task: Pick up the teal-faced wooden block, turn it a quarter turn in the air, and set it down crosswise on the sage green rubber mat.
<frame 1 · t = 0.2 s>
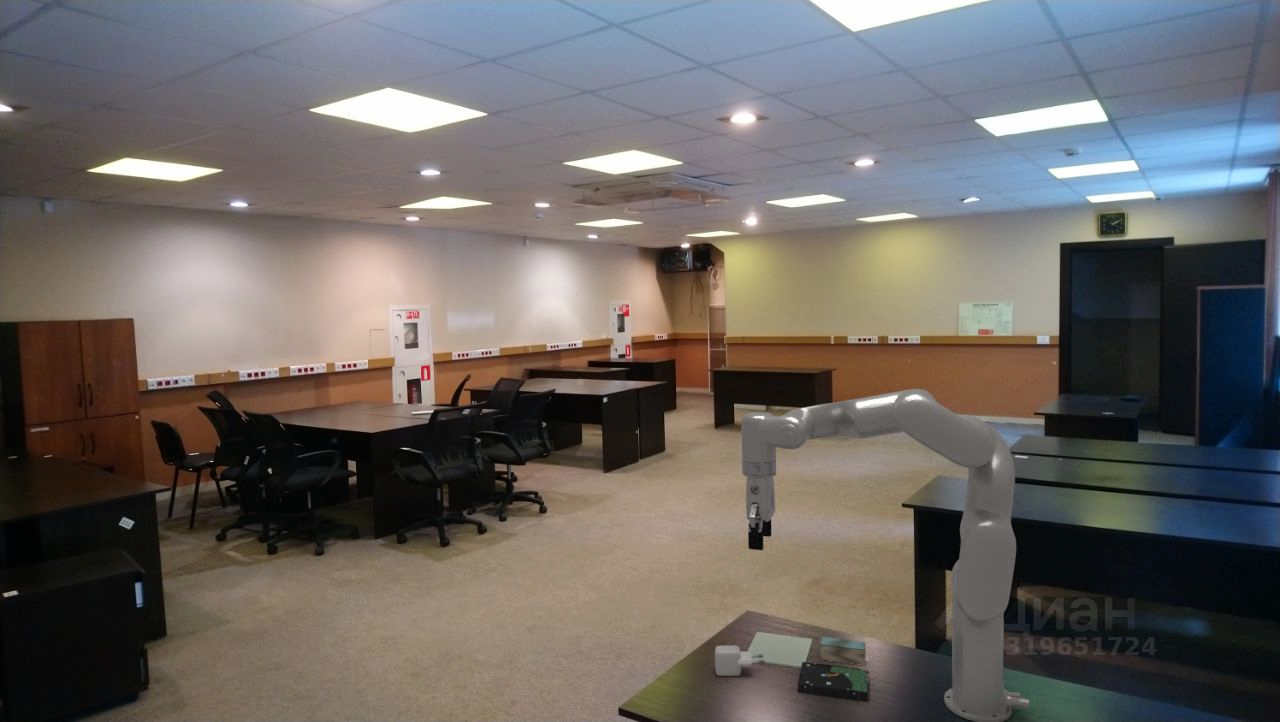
hand: (760, 542, 164), 31 cm above the table, tool pointing down, fingers open, 9 cm apart
teal-faced wooden block: (843, 659, 172), on the table
disk drive: (834, 688, 160), on the table
power adapter: (739, 673, 167), on the table
mat: (779, 650, 177), on the table
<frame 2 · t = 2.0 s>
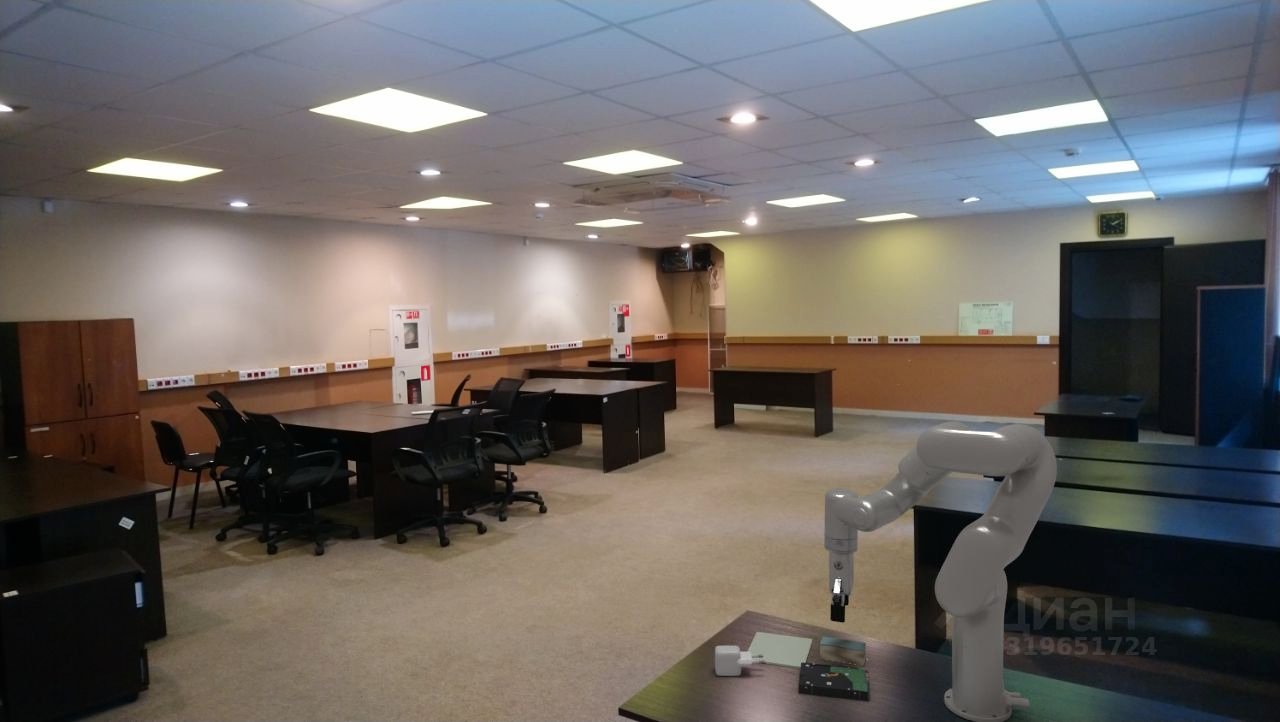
hand: (839, 612, 171), 11 cm above the table, tool pointing down, fingers open, 9 cm apart
nothing on the table moved.
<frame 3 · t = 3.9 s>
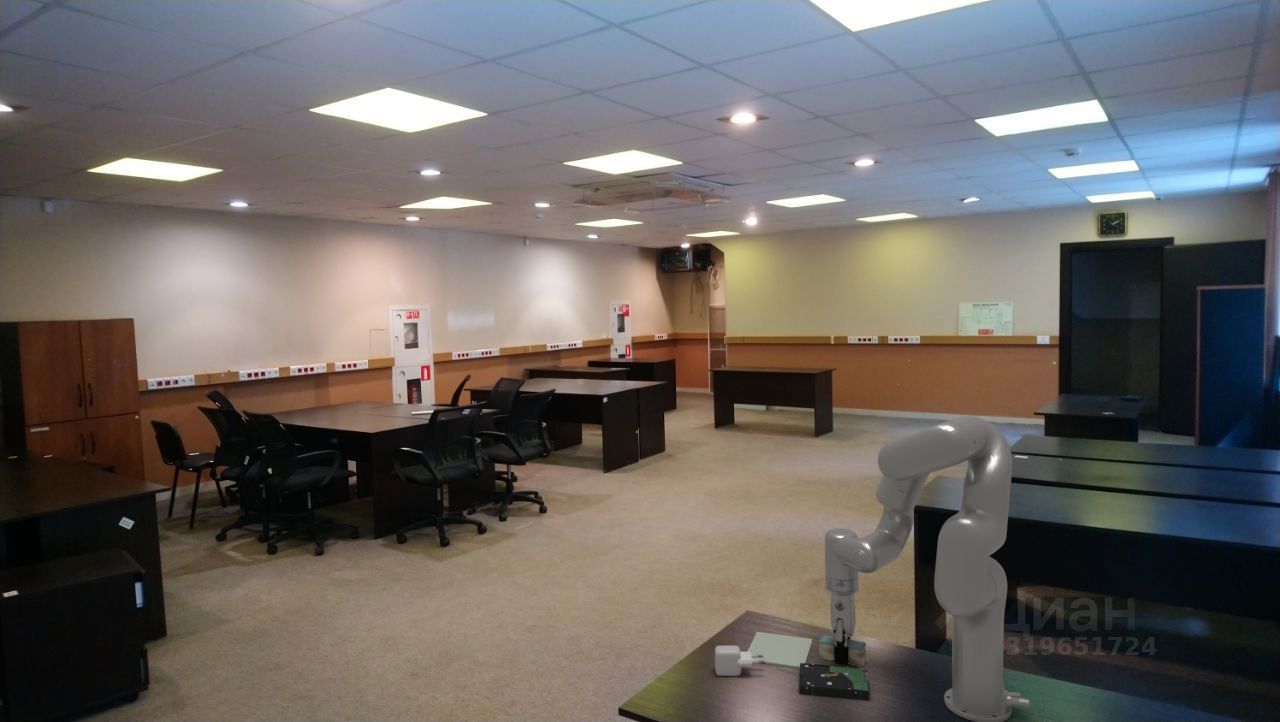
hand: (842, 656, 172), 0 cm above the table, tool pointing down, fingers closed on teal-faced wooden block, 4 cm apart
teal-faced wooden block: (842, 658, 172), on the table, touching gripper
everything else where it was.
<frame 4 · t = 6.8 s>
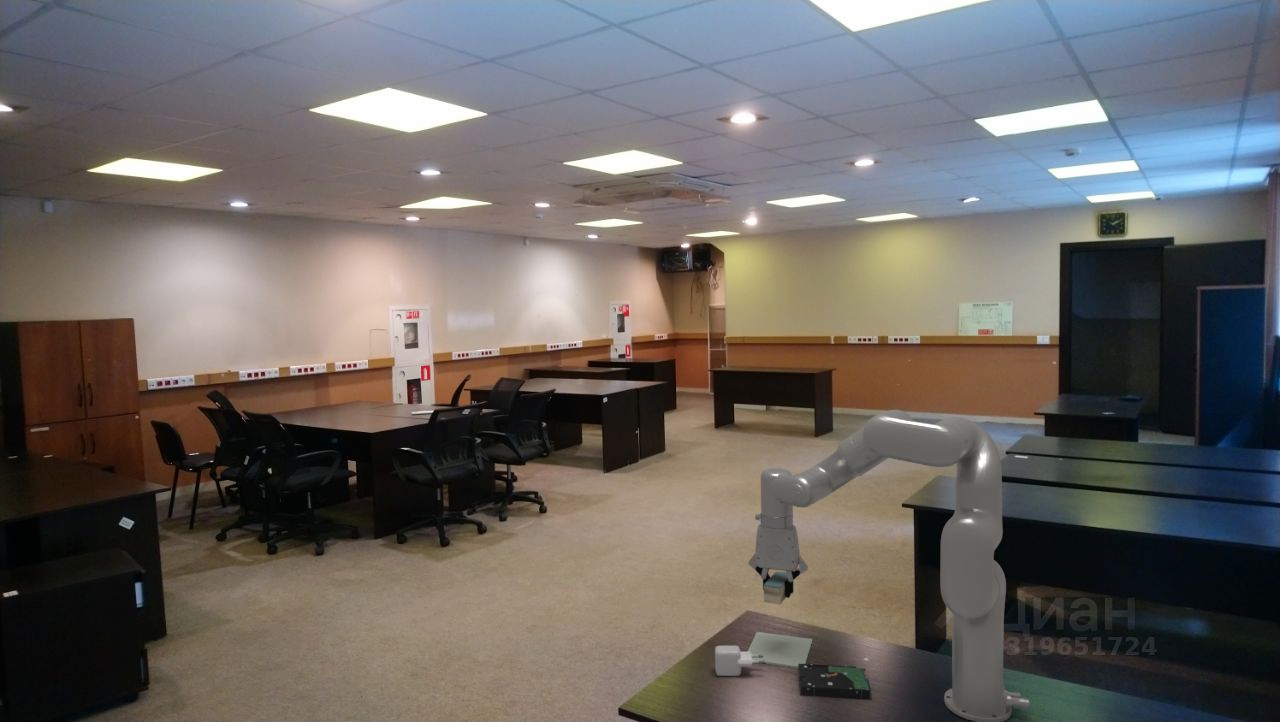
hand: (778, 593, 176), 14 cm above the table, tool pointing down, fingers closed on teal-faced wooden block, 4 cm apart
teal-faced wooden block: (778, 595, 176), point 14 cm above the table, touching gripper
everything else where it was.
when the fingers open (2 cm above the table, at t = 9.6 s): teal-faced wooden block drops 1 cm, resting on mat.
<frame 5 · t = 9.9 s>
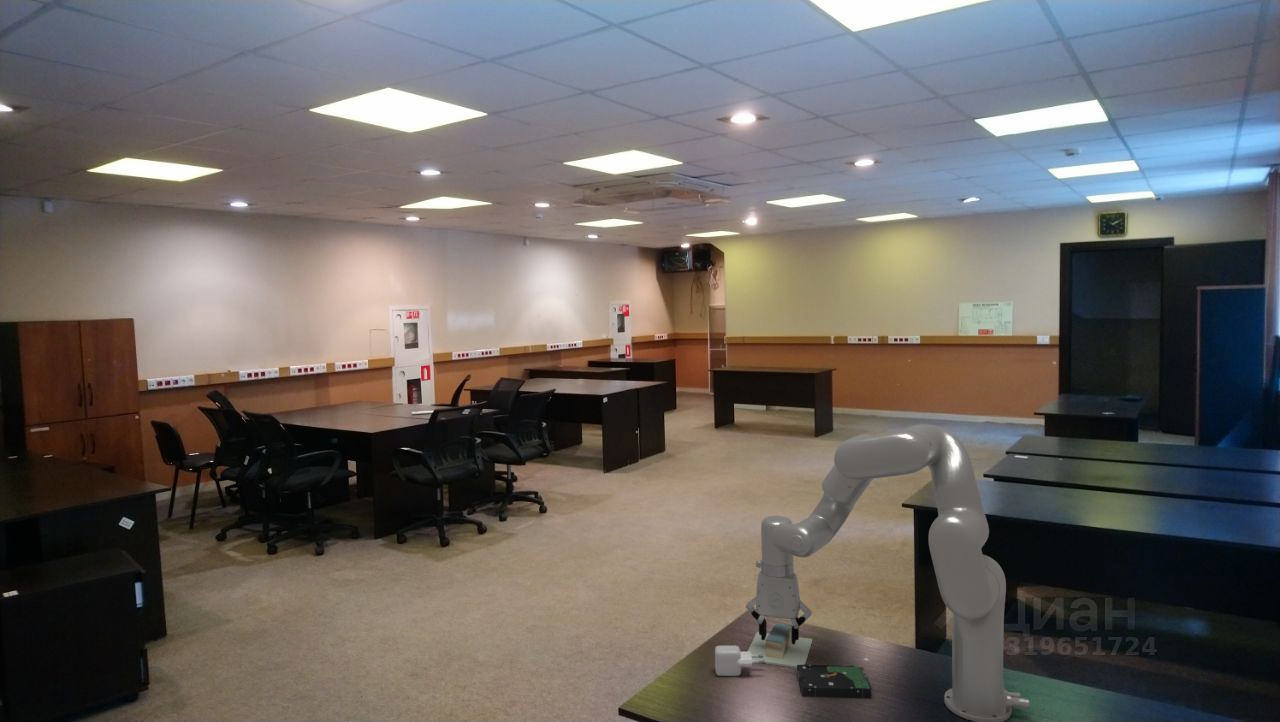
hand: (778, 639, 176), 3 cm above the table, tool pointing down, fingers open, 6 cm apart
teal-faced wooden block: (779, 648, 176), point 1 cm above the table, touching mat
everything else where it was.
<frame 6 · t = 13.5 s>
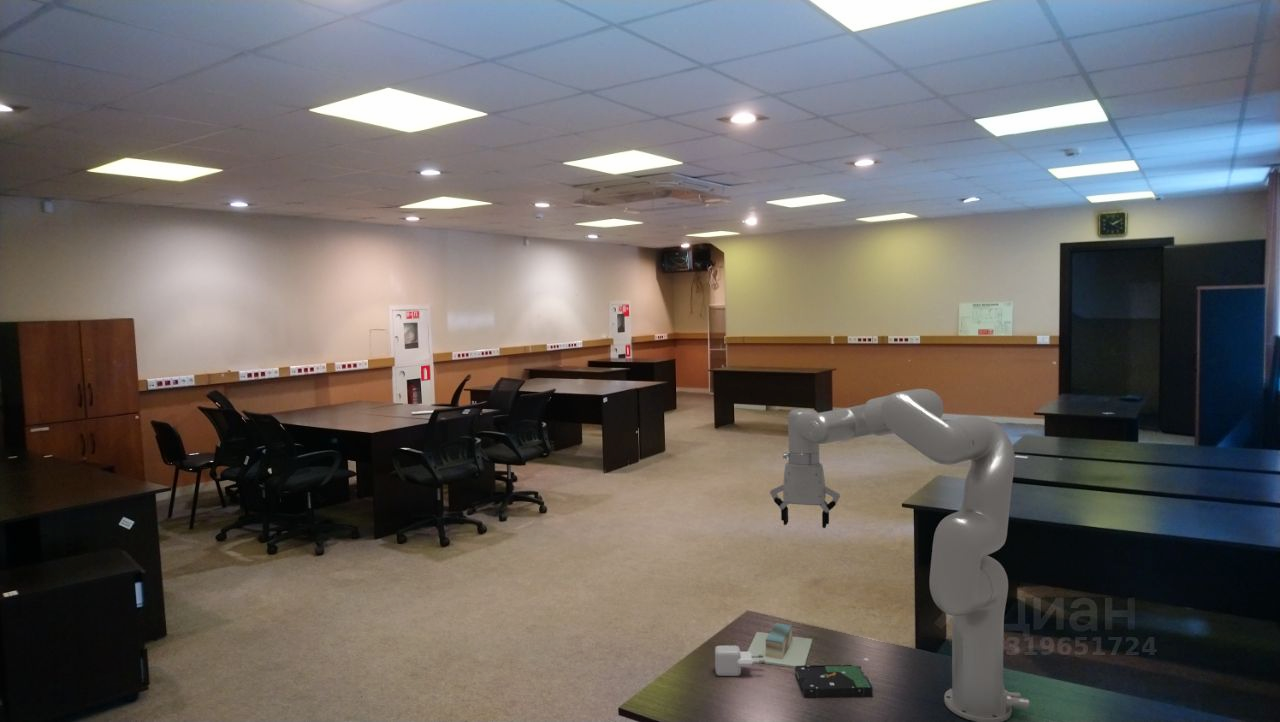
hand: (805, 525, 184), 28 cm above the table, tool pointing down, fingers open, 9 cm apart
at the end: teal-faced wooden block inside the target area on the mat (0.1 cm from its centre), point 0.6 cm above the mat's base; teal-faced wooden block tilted 0°; the gripper is holding nothing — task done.
